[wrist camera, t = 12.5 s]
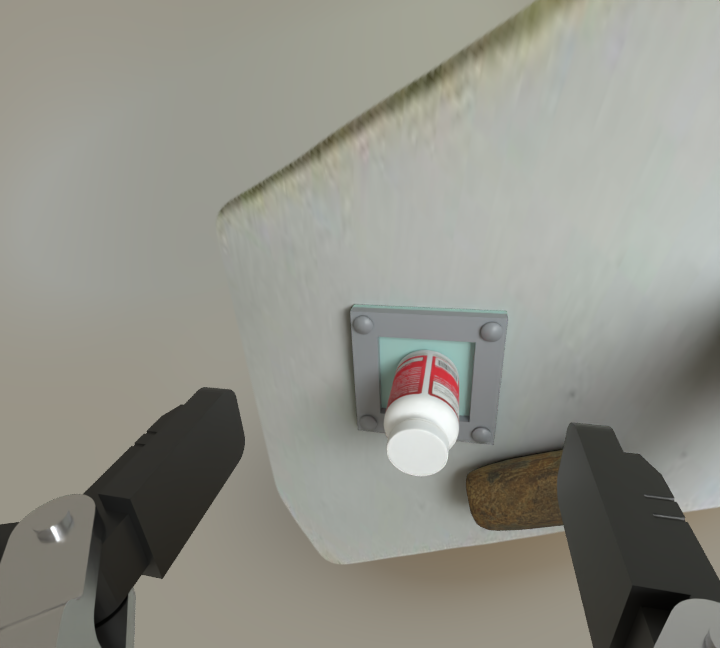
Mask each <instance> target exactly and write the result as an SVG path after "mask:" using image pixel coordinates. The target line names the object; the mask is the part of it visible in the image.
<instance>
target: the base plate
mask: <svg viewBox="0 0 720 648" xmlns="http://www.w3.org/2000/svg"><path fill="white" fill-rule="evenodd" d="M350 317H351V333H352V348H353V364H354V379H355V395H356V410H357V426H358V430H363V431H372V432H381V433H385V430H384V417H385V412H386V408H387V404H388V400H389V396H390V392H391V388H392V384H393V380H394V376H395V372H396V369H397V366H398V364H399V363H400V361H401V360H402V359H403V358H404V357H405V356H407V355H408V354H410V353H412V352H415V351H419V350H431V351H436V352H439V353H441V354H443V355H445V356H446V357H448V358H449V359H450V360H451V361H452V362H453V363H454V365H455V366H456V368H457V371H458V374H459V433H458V437H457V440H456V441H463V442H472V443H481V444H490V445H494V436H495V428H496V419H497V411H498V402H499V393H500V385H501V376H502V368H503V359H504V350H505V342H506V333H507V324H508V316H507V311H493V310H470V309H446V308H423V307H400V306H377V305H353V307H352V309H351V311H350Z"/></svg>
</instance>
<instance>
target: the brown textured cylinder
mask: <svg viewBox="0 0 720 648" xmlns="http://www.w3.org/2000/svg"><path fill="white" fill-rule="evenodd" d="M562 452H563V450H559V451H552V452H547V453H541V454H535V455H530V456H525V457H518V458H514V459H509V460H505V461H502V462H498V463H494V464H490V465H487V466H484V467H481V468H479V469H476V470H474V471H472V472H470V473H469V474H468V475H467V478H466V490H467V496H468V501H469V506H470V511H471V514H472V516H473V518H474V520H475V522H476V523H477V524H478V525H479V526H480V527H482V528H485V529H488V530H497V531H500V530H522V529H533V528H541V527H551V526H560V525H563V521H562V517H561V512H560V508H559V504H558V497H557V477H558V471H559V467H560V462H561V457H562Z"/></svg>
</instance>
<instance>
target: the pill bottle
mask: <svg viewBox="0 0 720 648" xmlns="http://www.w3.org/2000/svg"><path fill="white" fill-rule="evenodd" d="M384 430H385V433H386V436H387V438H388V442H387V455H388V458H389V460H390V461H391V463H392V464H393V465H394V466H395V467H396V468H397V469H399V470H400V471H402V472H404V473H406V474H409V475H414V476H428V475H432V474H435V473H437V472H439V471H440V470H441V469H442V468H443V467H444V466H445V465H446V463H447V460H448V453H449V449H451V447H452V446H453V445H454V444H455V442H456V440H457V437H458V433H459V374H458V371H457V368H456V366H455V365H454V363H453V362H452V361H451V360H450V359H449V358H448V357H446V356H445V355H443V354H441V353H439V352H436V351H431V350H419V351H415V352H412V353H410V354H408V355H407V356H405V357H404V358H403V359H402V360H401V361H400V363H399V364H398V366H397V369H396V372H395V376H394V380H393V384H392V388H391V392H390V396H389V400H388V404H387V408H386V412H385V417H384Z"/></svg>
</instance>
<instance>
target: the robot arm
mask: <svg viewBox="0 0 720 648" xmlns="http://www.w3.org/2000/svg"><path fill="white" fill-rule="evenodd" d="M244 445H245V437H244V431H243V426H242V422H241V417H240V413H239V408H238V403H237V399H236V395H235V393H234V392H233V391H232V390H229V389H218V388H207V387H203V388H201V389H199V390H198V391H197V392H196V393H195V394H194V395H193V396H192V397H191V398H190V399H189V400H188V402H186V403H185V404H184V405H180V406H178V407H176V408H175V409H173V410H171V411H170V412H168V413H166V414H165V415H163V416H161V417H160V419H158V421H157V422H155V423H154V424H153V425H152V426H151V427H150V428H149V429H148V430H147V433H146V434H143V435H142V436H141V437H140V438H139V439H138V440H137V441H136V442H135V445H134V446H131V447H130V448H129V449H128V450H127V451H126V452H125V453H124V454H123V455H122V456H121V457H120V458H119V459H118V460H117V461H116V462H115V463H114V464H113V465H112V466H111V467H110V468H109V469H108V470H107V471H106V472H105V473H104V474H103V475H102V476H101V477H100V478H99V479H98V480H97V481H96V482H95V483H94V484H93V485H92V486H91V487H90V488H89V489H88V490H87V491H86V492H85V493H84V494H72V495H66V496H62V497H59V498H56V499H53V500H51V501H49V502H47V503H45V504H43V505H41V506H39V507H38V508H36V509H35V510H33V511H32V512H31V513H29V514H28V515H27V516H26V517H25V518H23V520H21V521H20V522H16V523H8V524H1V525H0V648H134V634H135V600H136V596H135V591H134V588H133V586H134V585H135V583H136V582H137V580H138V579H139V578H140V576H141V575H146V576H151V577H156V578H161V579H163V577H164V576H165V574H166V573H167V571H168V570H169V568H170V566H171V565H172V563H173V562H174V560H175V559H176V557H177V556H178V554H179V553H180V551H181V550H182V548H183V547H184V545H185V544H186V542H187V541H188V539H189V537H190V536H191V534H192V533H193V531H194V530H195V528H196V527H197V525H198V524H199V522H200V521H201V519H202V518H203V516H204V515H205V513H206V511H207V510H208V508H209V507H210V505H211V504H212V502H213V501H214V499H215V498H216V496H217V495H218V493H219V492H220V490H221V488H222V487H223V485H224V484H225V482H226V481H227V479H228V478H229V476H230V475H231V473H232V472H233V470H234V469H235V467H236V465H237V464H238V462H239V461H240V459H241V457H242V454H243V450H244ZM557 497H558V504H559V508H560V512H561V517H562V521H563V525H564V529H565V533H566V537H567V541H568V545H569V549H570V553H571V557H572V561H573V566H574V570H575V574H576V578H577V582H578V586H579V591H580V595H581V599H582V603H583V607H584V611H585V615H586V619H587V624H588V628H589V632H590V636H591V640H592V644H593V648H720V580H719V578H718V576H717V575H716V573H715V571H714V569H713V567H712V565H711V564H710V562H709V560H708V558H707V556H706V555H705V553H704V551H703V549H702V547H701V545H700V544H699V542H698V540H697V538H696V536H695V535H694V533H693V531H692V529H691V527H690V526H689V524H688V523H687V522H685V516H684V515H683V513H682V511H681V509H680V507H679V506H678V504H677V502H674V496H673V495H672V493H671V491H670V489H669V487H668V486H667V484H666V482H665V480H664V478H663V476H662V475H661V474H660V473H659V472H658V471H657V470H656V469H655V468H654V467H653V466H652V465H651V464H649V463H648V462H647V461H646V460H645V459H644V458H643V457H642V456H641V455H640V454H633V453H624V452H623V450H622V448H621V446H620V444H619V442H618V440H617V437H616V435H615V433H614V431H613V429H612V428H611V427H609V426H601V425H590V424H580V423H570V424H569V426H568V429H567V433H566V438H565V443H564V447H563V452H562V457H561V462H560V467H559V471H558V477H557Z"/></svg>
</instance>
